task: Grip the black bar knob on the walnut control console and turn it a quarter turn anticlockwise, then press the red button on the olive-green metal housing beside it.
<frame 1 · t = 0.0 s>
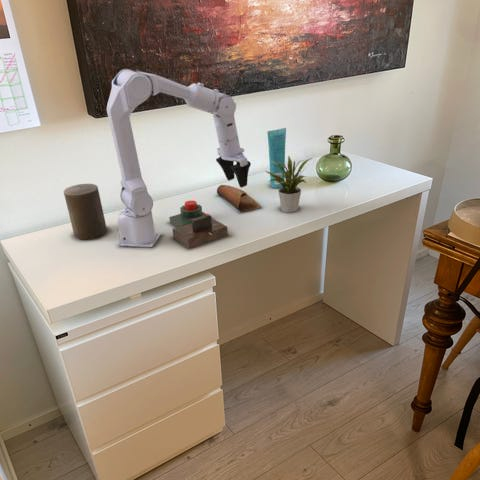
hand: (237, 182, 150), 11 cm above the table, tool pointing down, fingers open, 7 cm apart
button: (190, 205, 152), point 5 cm above the table, slide at 0.1 cm
sunglasses case: (238, 202, 166), on the table
console: (200, 237, 144), on the table
button box: (190, 222, 153), on the table
knob: (201, 222, 140), point 5 cm above the table, hinge at 0.0°
tube: (277, 186, 177), on the table
pillar candle: (91, 233, 150), on the table
house plant: (291, 208, 159), on the table
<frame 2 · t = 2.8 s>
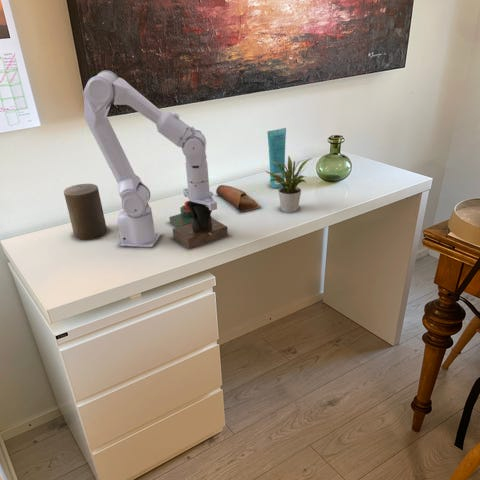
hand: (202, 227, 141), 4 cm above the table, tool pointing down, fingers closed on knob, 2 cm apart
knob: (201, 222, 140), point 5 cm above the table, hinge at 0.0°, touching gripper
everything else where it was.
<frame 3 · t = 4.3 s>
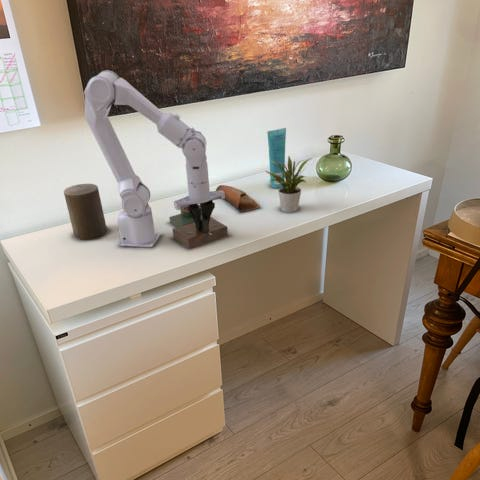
hand: (202, 227, 141), 3 cm above the table, tool pointing down, fingers closed, pressing on knob
knob: (201, 222, 140), point 5 cm above the table, hinge at 84.8°, touching gripper
everything else where it was.
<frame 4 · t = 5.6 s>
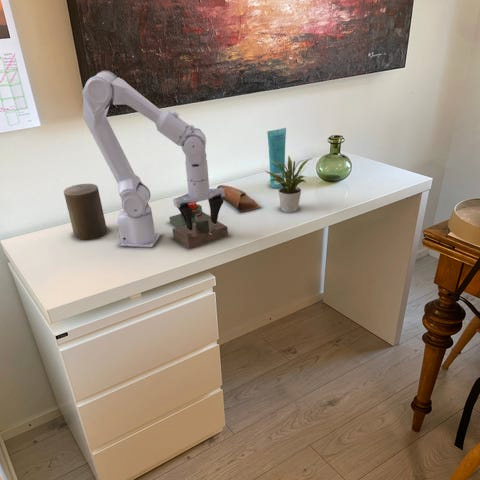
hand: (202, 225, 141), 4 cm above the table, tool pointing down, fingers open, 7 cm apart
knob: (201, 222, 140), point 5 cm above the table, hinge at 84.8°
everything else where it was.
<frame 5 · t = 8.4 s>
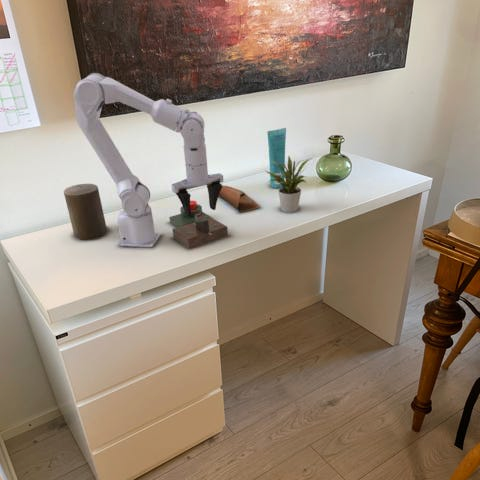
hand: (200, 212, 138), 8 cm above the table, tool pointing down, fingers open, 7 cm apart
nothing on the table moved.
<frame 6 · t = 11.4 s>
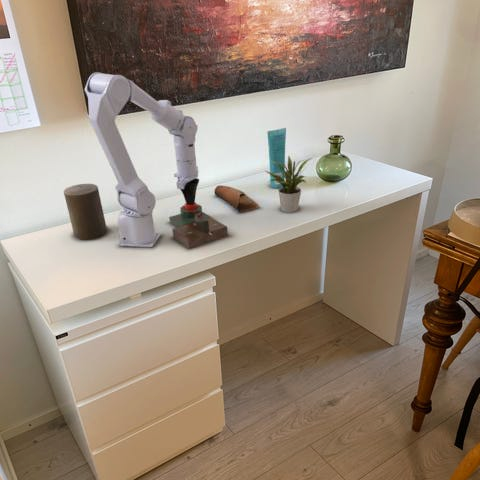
hand: (190, 204, 152), 5 cm above the table, tool pointing down, fingers closed, pressing on button
button: (190, 207, 152), point 4 cm above the table, slide at -0.3 cm, touching gripper
everything else where it was.
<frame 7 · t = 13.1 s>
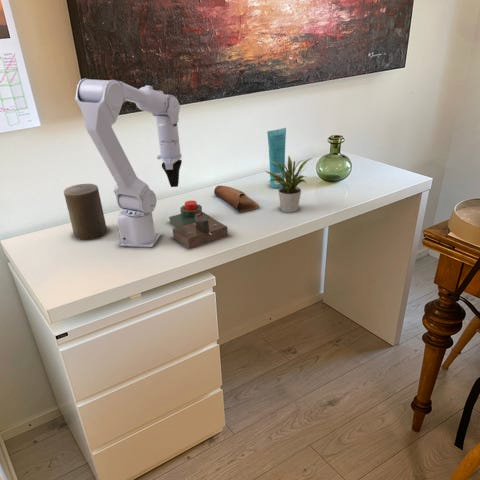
hand: (174, 186, 150), 10 cm above the table, tool pointing down, fingers closed
button: (190, 205, 152), point 5 cm above the table, slide at 0.1 cm
everything else where it was.
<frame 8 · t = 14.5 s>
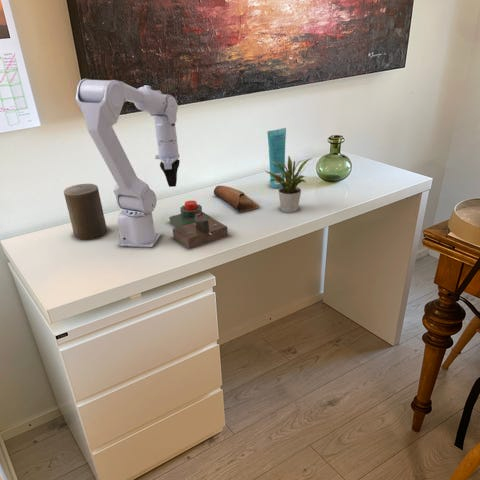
hand: (172, 185, 150), 10 cm above the table, tool pointing down, fingers closed
nothing on the table moved.
at the end: knob at +85° (first picture: +0°); button pushed in 1.3 cm at the most during the clip, back to where it started at the end; button slide at 0.1 cm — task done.
